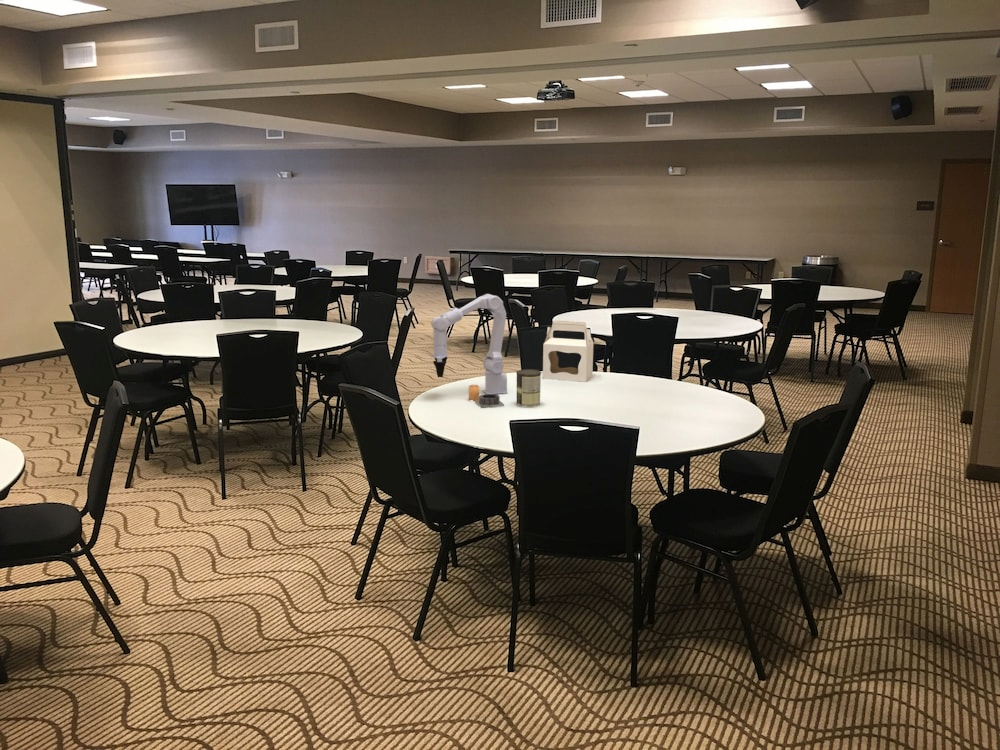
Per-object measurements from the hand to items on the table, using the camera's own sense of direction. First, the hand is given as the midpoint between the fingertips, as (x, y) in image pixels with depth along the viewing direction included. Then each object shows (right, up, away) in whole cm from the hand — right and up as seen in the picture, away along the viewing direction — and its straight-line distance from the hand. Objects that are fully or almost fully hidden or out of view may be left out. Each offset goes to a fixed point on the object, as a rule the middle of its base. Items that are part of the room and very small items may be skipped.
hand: (440, 375), depth 335 cm
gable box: (+59, -2, +43) cm, 73 cm away
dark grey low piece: (+21, -12, -11) cm, 27 cm away
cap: (+15, -11, -3) cm, 18 cm away
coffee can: (+38, -13, -10) cm, 41 cm away
